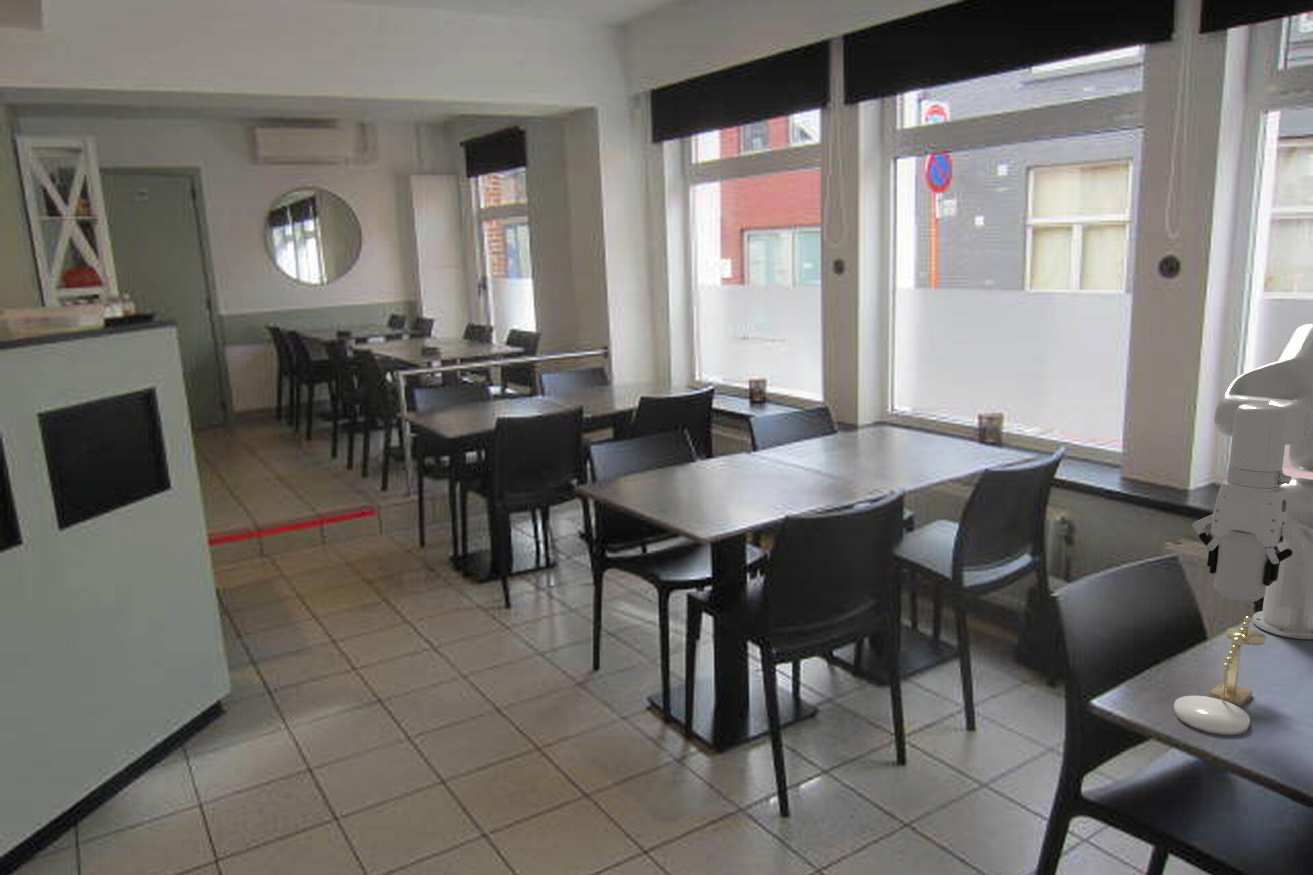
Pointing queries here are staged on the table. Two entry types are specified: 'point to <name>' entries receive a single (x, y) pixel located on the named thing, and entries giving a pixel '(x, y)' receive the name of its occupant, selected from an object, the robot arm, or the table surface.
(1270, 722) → the table surface
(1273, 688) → the table surface
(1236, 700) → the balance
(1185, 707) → the white rounded disc
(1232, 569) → the can
